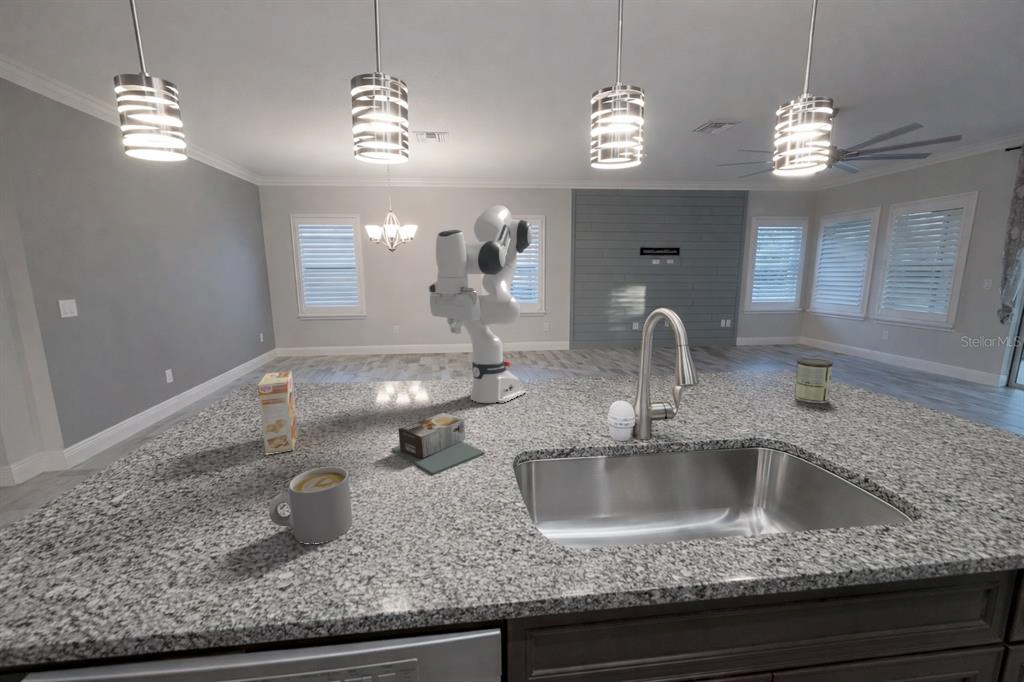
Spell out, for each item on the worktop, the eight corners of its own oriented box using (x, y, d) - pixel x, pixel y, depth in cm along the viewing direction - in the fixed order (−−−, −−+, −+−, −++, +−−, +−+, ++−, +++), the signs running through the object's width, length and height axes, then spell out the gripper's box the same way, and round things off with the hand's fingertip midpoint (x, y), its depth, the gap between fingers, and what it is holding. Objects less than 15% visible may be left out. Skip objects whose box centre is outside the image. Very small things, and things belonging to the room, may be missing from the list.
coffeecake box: (294, 451, 113) (287, 382, 110) (264, 456, 110) (255, 385, 107) (299, 432, 126) (292, 370, 123) (272, 436, 124) (265, 372, 121)
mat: (441, 434, 123) (441, 432, 123) (484, 454, 109) (484, 452, 109) (391, 450, 112) (391, 448, 112) (432, 475, 98) (432, 472, 98)
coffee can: (790, 394, 157) (794, 357, 155) (823, 396, 153) (827, 359, 151) (798, 401, 147) (802, 363, 145) (833, 404, 144) (837, 365, 141)
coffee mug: (356, 510, 84) (353, 464, 82) (346, 541, 74) (341, 489, 73) (285, 518, 82) (280, 470, 80) (265, 551, 72) (258, 497, 70)
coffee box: (443, 432, 123) (398, 451, 110) (442, 412, 122) (397, 428, 109) (466, 439, 117) (421, 460, 105) (465, 418, 116) (420, 436, 104)
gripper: (484, 287, 117) (486, 335, 119) (442, 285, 131) (445, 328, 134) (466, 288, 112) (469, 338, 115) (425, 286, 127) (428, 331, 130)
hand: (455, 333), depth 125 cm, fingers closed
